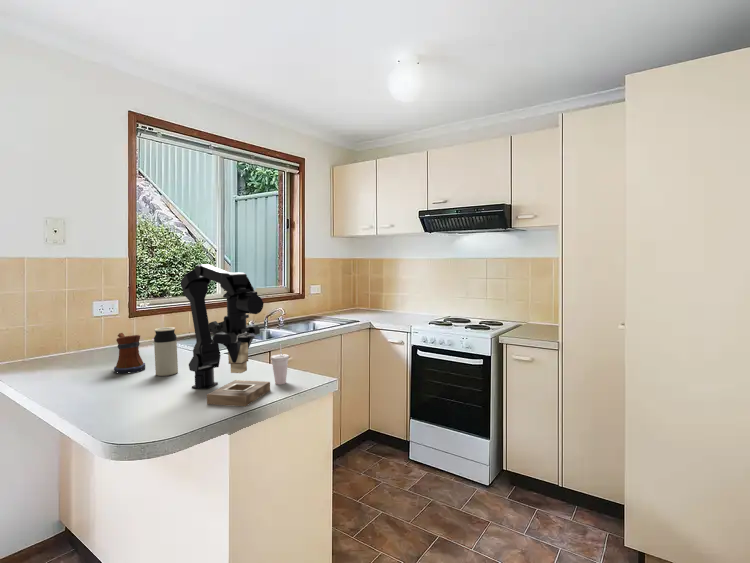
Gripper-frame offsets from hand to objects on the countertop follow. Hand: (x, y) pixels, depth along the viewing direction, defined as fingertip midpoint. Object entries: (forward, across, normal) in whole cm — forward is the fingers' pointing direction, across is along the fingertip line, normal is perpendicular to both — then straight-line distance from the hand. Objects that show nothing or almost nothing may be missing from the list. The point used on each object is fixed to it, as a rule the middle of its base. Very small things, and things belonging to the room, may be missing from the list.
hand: (238, 360), depth 138 cm
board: (+12, 0, 0) cm, 12 cm away
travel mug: (+12, -22, -45) cm, 51 cm away
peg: (+4, 0, 0) cm, 4 cm away
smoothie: (+12, -17, +6) cm, 22 cm away
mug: (+12, -26, -67) cm, 73 cm away
